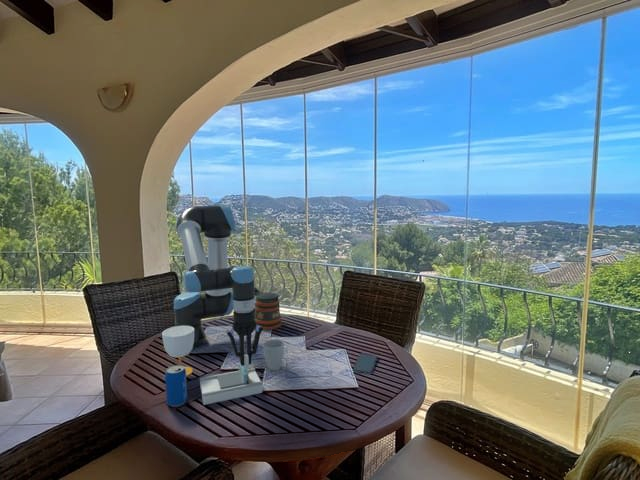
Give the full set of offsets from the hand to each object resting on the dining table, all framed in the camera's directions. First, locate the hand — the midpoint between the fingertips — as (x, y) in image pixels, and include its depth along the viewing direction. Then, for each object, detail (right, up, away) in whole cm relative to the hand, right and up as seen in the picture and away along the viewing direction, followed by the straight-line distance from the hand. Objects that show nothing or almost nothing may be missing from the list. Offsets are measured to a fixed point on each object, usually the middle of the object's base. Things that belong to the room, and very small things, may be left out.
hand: (246, 372), depth 137 cm
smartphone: (+45, -3, +18) cm, 49 cm away
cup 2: (+8, -3, +16) cm, 18 cm away
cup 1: (-28, -4, +12) cm, 31 cm away
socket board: (-5, -6, -2) cm, 8 cm away
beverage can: (-21, -7, -9) cm, 24 cm away
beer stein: (-3, +3, +64) cm, 64 cm away
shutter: (-5, -2, -2) cm, 6 cm away
